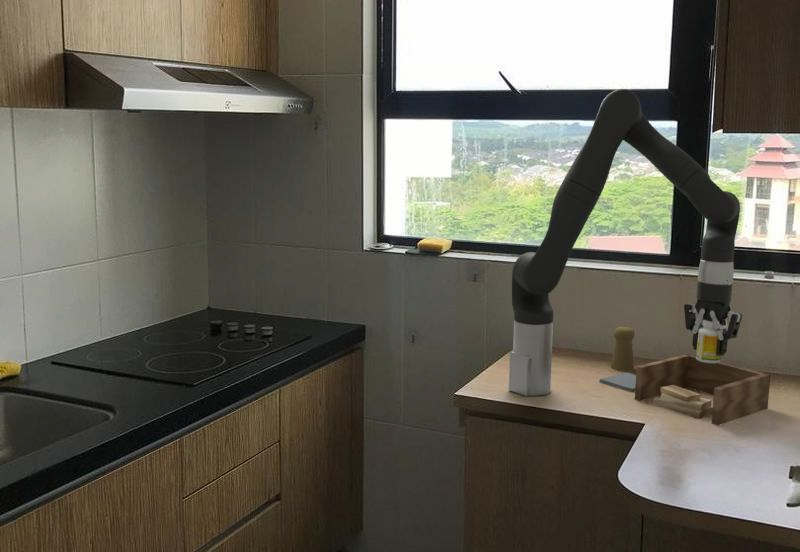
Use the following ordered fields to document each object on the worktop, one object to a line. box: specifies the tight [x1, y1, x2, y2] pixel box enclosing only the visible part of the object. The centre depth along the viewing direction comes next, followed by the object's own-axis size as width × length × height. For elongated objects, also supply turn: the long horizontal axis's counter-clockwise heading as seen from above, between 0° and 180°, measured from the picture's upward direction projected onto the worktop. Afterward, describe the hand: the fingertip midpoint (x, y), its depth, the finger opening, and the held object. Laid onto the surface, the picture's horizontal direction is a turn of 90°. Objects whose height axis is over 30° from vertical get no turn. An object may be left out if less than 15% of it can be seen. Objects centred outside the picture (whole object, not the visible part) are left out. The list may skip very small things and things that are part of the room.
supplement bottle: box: [695, 319, 722, 363], centre depth 203 cm, size 5×5×10 cm
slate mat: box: [599, 371, 636, 393], centre depth 219 cm, size 10×10×1 cm
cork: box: [610, 326, 635, 372], centre depth 232 cm, size 6×6×11 cm
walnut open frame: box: [634, 353, 771, 426], centre depth 204 cm, size 20×22×8 cm
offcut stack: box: [653, 385, 713, 419], centre depth 200 cm, size 6×12×4 cm, turn 37°
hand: (708, 352), depth 203 cm, fingers closed on supplement bottle, 5 cm apart
